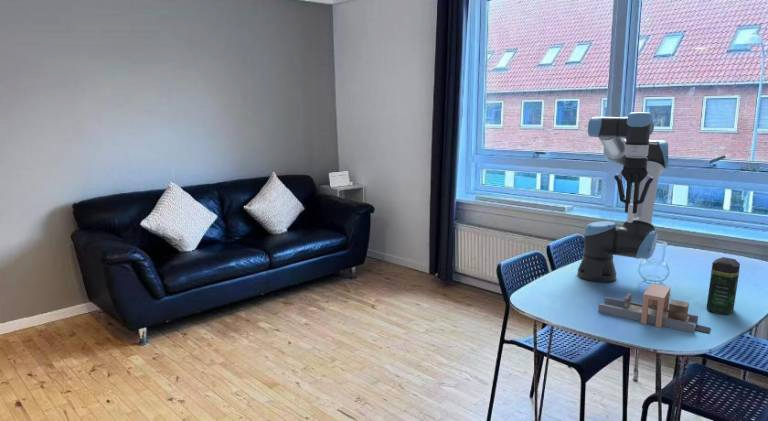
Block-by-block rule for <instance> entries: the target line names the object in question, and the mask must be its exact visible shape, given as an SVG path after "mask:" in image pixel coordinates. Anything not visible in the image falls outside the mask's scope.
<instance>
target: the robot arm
mask: <svg viewBox="0 0 768 421" xmlns="http://www.w3.org/2000/svg"><path fill="white" fill-rule="evenodd" d="M587 123H588V125H587V134H588V136H589V137H590V138H598V139H599V141H600V143H601V145H602V146H603V153H604V155H605V156H606V158H608V159H609V160H611V161H612V162H614V163H616V164H618V165H620V166H621V165H622V169H621V172H620V173H619V174H616V175H614V177H613V178H614V179H615V181H616V184H617V191H618V196H619V201H620V202H621V203H624V204H625V205H624V206H625V207H624V213H627V218H626V220H625V221H624V222H623V224H622V226H617V223H616V222H614V221H607V220H606V221H605V220H603V221H595V222H594V221H593V222H590V223H588V224H587V225H586V226H585V230H584V235H583V236H584V237H583V239H584V240H583V252H582V253H583V255H582V259H581V262H580V263H579V265H578V268H577V276H578V277H579V278H580V279H583V280H586V281H590V282H595V283H596V282H597V283H610V282H615V281H616V280H617V271H616V266H615V263H614V256H618V257H619V256H620V257H626V258H635V259H638V260H639V259H643V260H648V259H651V258H652V256H653V254H654V252H655V249H656V246H657V242H658V237H659V233H658V231H657V230H655V229H656V227H655V225H654V224H652V221H653V217H654V216H653V214H654V209H655V208H654V207H655V202H656V196H657V191H658V190H657V189H658V183H659V177H660V175H661V174H663V173H664V171H665V169H667V168H669V167H670V166H669V164H670V163H669V162H670V161H669V143H668V142H667V141H666V140H662V139H661V140H659V139H654V140H653V139H650V136H651V135H652V133H653V132H654V129H655V123H654V121H653V120H652V114H651V112H648V111H647V112H645V111H644V112H642V111H641V112H640V111H637V112H635V111H634V112H628V114H627V116H621V117H619V116H618V117H617V116H615V117H614V116H593V117H590V118H589V120H588V122H587ZM623 179H624V180H625V182H626V188H625V189H626V192H625V191H624V190H625V189H624V185H623ZM633 183H634V185H633ZM632 186H633V189H632Z"/></svg>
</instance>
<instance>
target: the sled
mask: <svg viewBox="0 0 768 421" xmlns="http://www.w3.org/2000/svg"><path fill="white" fill-rule="evenodd" d="M623 300H624V307H623V308H624V309H629V310H633V311H638V312H642V307H640V306H635V305H631V302H632V293H627V294H626V295H625V297H624V298H623ZM689 306H690V302H689V301H684V300H683V301H682V300H678V299H673V298H671V300H670V301H669V307H668V309H669V311H668V312H665V311H663V317H666V318H671V319H676V320H681V321H685V322H688V321H689V316H688V313H689ZM648 314H652V315H657V310H655V309H650V308H648Z"/></svg>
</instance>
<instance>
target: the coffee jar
mask: <svg viewBox="0 0 768 421" xmlns="http://www.w3.org/2000/svg"><path fill="white" fill-rule="evenodd" d="M740 265H741V263H740V262H738V260H736V259H735V258H730V257H724V256H721V257H719V258H716V259H715V260H713V262H712V263H711V271H710V279H709V280H710V281H709V287H708V295H707V300H706V309H707V310H708V311H711V312H713V313H716V314H719V315H731V314H732V313H733V311H734V310H735V303H736V296H737V290H738V282H739V275H740V267H741V266H740Z"/></svg>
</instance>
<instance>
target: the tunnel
mask: <svg viewBox="0 0 768 421" xmlns="http://www.w3.org/2000/svg"><path fill="white" fill-rule="evenodd" d="M670 296H671V286H667V285H661V284H657V283H650V284H649V286H648V287H647V288H646V290H645V292H643V298H642V304H643V305H642V315H641V321H640V324H644V325H647V318H648V308H649V305H650V306H655V307H657V316H656V324H655V327H656V328H660V329H661V328H662V327H663V326H662V319H663V310H664V309H669V303H670Z"/></svg>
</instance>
